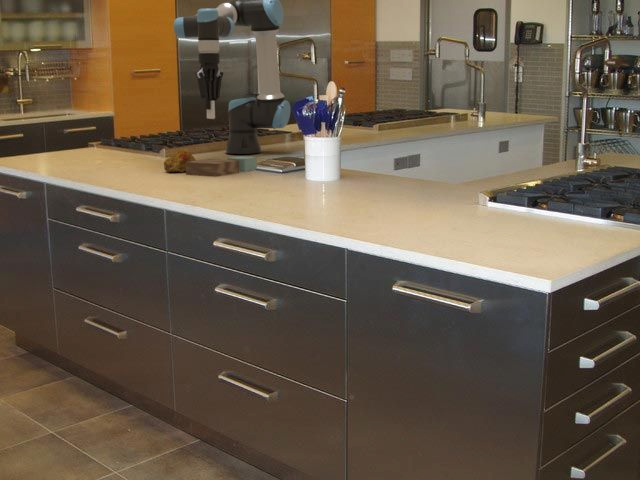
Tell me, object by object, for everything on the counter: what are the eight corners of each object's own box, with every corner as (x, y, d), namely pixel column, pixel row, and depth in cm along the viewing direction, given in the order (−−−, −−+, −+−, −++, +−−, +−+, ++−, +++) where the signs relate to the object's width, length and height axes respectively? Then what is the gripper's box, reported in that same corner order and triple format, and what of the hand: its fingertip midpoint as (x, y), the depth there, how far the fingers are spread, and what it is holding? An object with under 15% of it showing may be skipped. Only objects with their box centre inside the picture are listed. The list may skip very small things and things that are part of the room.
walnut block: (209, 171, 338) (209, 158, 337) (239, 173, 331) (239, 160, 330) (186, 175, 327) (185, 162, 326) (216, 177, 319) (215, 163, 318)
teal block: (239, 169, 345) (239, 156, 344) (256, 170, 341) (256, 157, 340) (227, 171, 338) (227, 158, 337) (244, 172, 334) (244, 159, 333)
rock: (187, 182, 332) (166, 166, 328) (178, 184, 339) (157, 169, 335) (202, 158, 335) (181, 142, 331) (193, 161, 342) (172, 145, 338)
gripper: (212, 53, 328) (214, 117, 332) (188, 52, 317) (191, 119, 322) (228, 52, 324) (230, 118, 328) (204, 52, 313) (206, 119, 318)
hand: (210, 118), depth 325 cm, fingers closed
